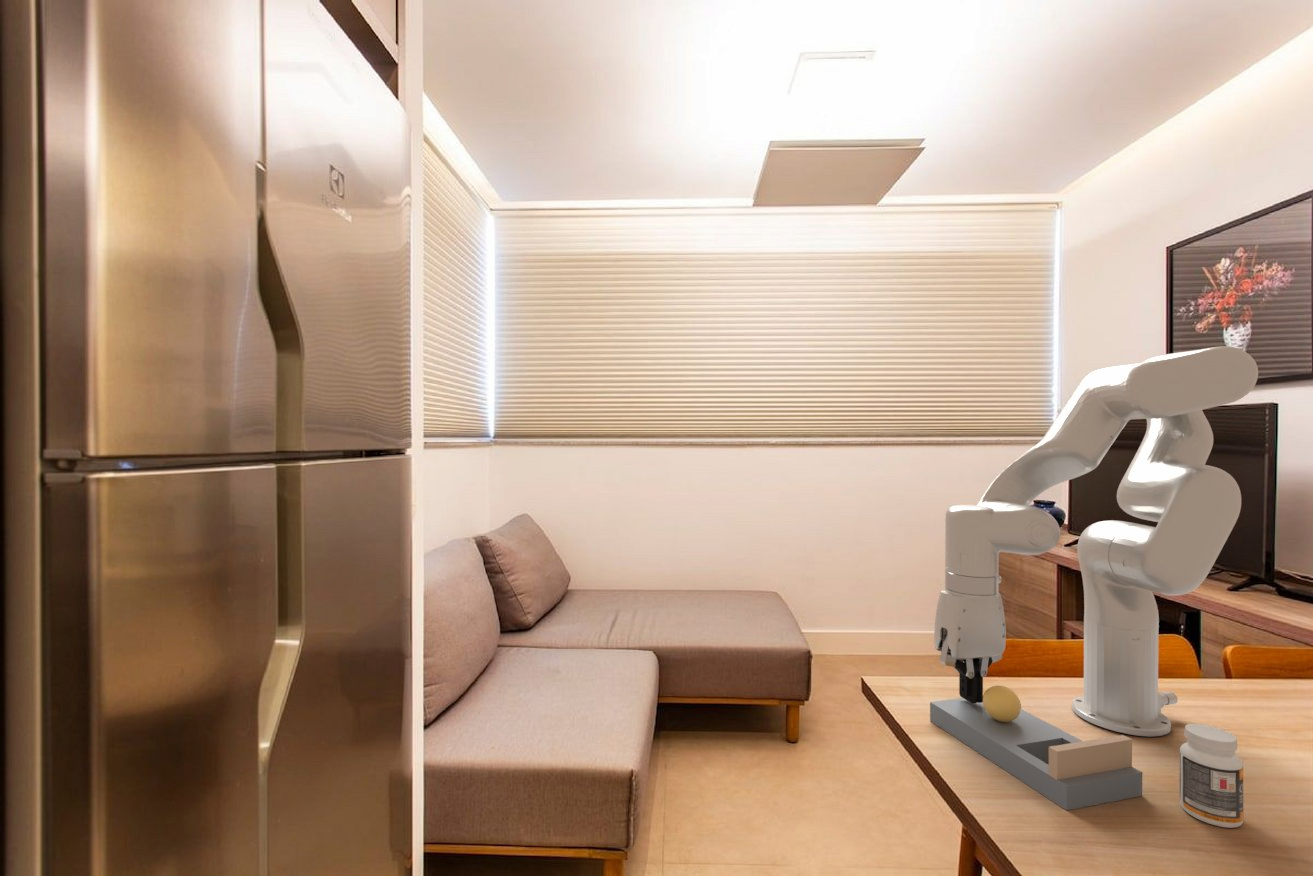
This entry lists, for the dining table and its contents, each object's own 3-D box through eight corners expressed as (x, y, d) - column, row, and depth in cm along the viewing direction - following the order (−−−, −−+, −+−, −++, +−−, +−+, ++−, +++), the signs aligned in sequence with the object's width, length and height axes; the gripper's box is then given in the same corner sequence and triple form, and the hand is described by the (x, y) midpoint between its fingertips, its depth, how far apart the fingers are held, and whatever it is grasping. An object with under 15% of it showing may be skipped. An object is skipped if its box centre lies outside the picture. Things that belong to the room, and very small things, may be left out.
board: (992, 712, 100) (992, 672, 100) (1142, 795, 77) (1142, 744, 77) (930, 720, 97) (930, 680, 97) (1066, 810, 74) (1066, 757, 74)
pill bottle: (1256, 833, 70) (1257, 746, 70) (1198, 826, 71) (1199, 741, 71) (1221, 804, 76) (1222, 723, 76) (1168, 798, 77) (1168, 719, 77)
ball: (1001, 711, 94) (1002, 678, 94) (1029, 726, 89) (1029, 691, 89) (974, 714, 93) (974, 682, 93) (1001, 730, 88) (1001, 695, 88)
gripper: (992, 576, 102) (991, 685, 102) (914, 581, 99) (914, 694, 99) (1029, 586, 95) (1029, 704, 95) (948, 592, 91) (947, 715, 92)
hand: (970, 699), depth 97 cm, fingers closed
